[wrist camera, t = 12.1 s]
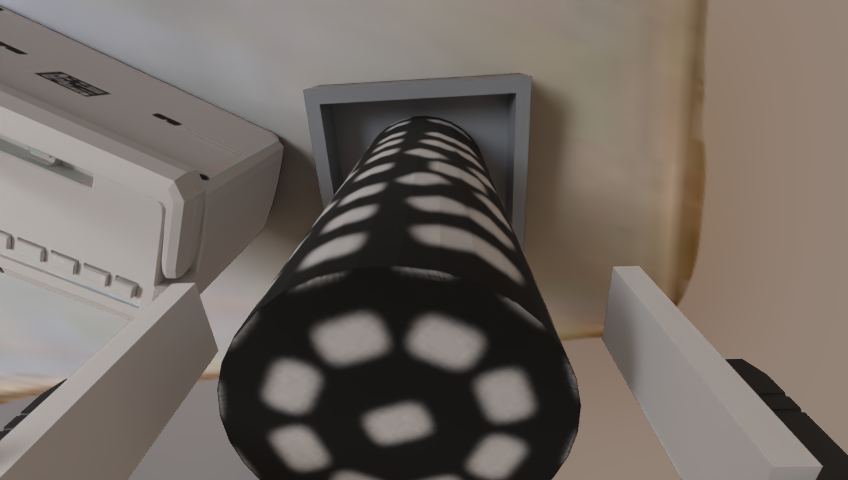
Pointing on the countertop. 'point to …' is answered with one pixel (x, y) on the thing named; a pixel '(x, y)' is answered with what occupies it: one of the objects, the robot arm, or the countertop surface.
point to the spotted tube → (403, 333)
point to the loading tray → (440, 97)
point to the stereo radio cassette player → (119, 175)
